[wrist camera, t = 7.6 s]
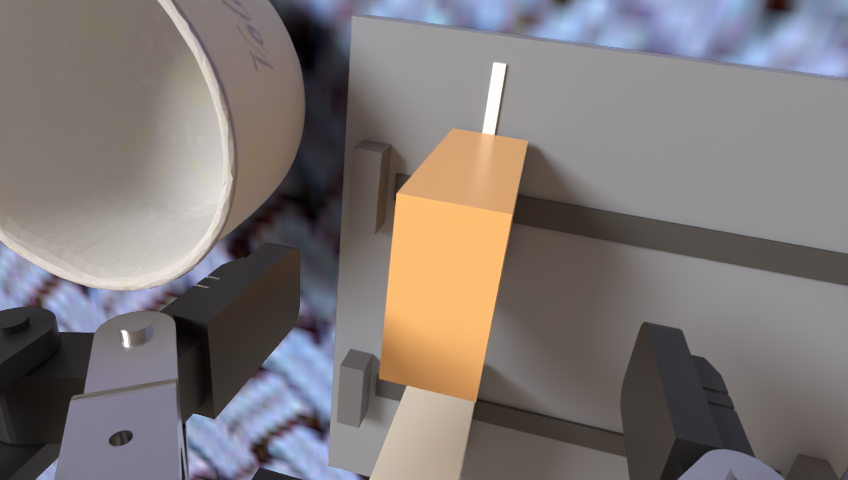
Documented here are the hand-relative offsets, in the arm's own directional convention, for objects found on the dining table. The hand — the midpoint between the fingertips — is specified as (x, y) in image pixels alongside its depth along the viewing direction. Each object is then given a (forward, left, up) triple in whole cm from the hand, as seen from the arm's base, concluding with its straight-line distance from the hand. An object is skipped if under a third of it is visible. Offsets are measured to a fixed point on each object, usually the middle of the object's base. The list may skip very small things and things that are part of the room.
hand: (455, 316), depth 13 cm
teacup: (+14, -3, -10) cm, 17 cm away
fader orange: (0, 0, -7) cm, 7 cm away
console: (-4, +4, -9) cm, 11 cm away
